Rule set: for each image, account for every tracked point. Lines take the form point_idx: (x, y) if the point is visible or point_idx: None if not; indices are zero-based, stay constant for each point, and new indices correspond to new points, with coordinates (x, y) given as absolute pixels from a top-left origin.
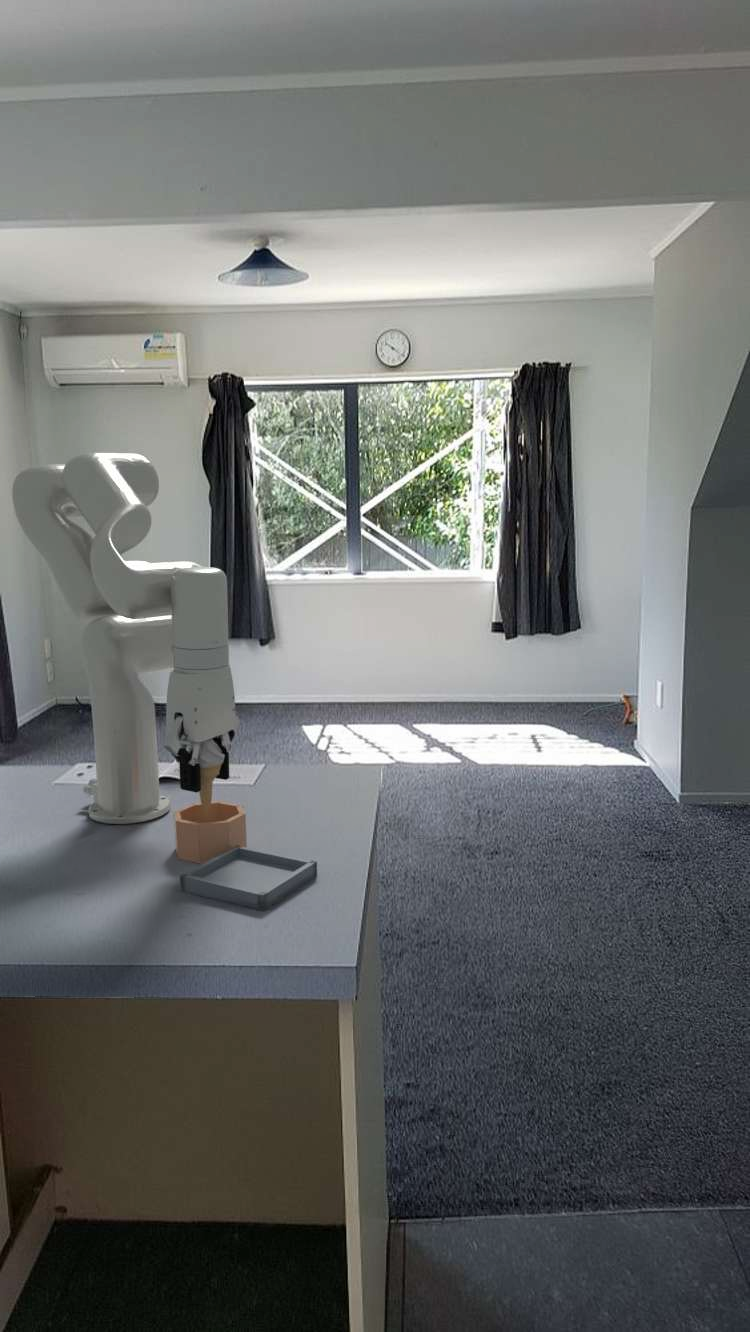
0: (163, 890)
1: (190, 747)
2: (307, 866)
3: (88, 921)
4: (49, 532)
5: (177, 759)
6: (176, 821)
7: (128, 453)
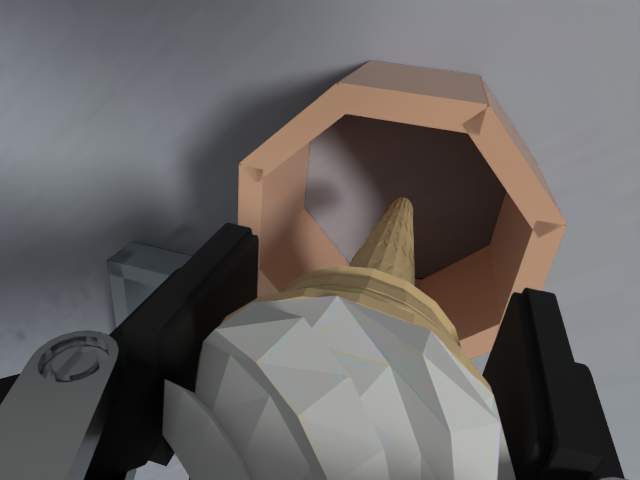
0: (112, 202)
1: (205, 459)
2: None
3: None
4: None
5: (13, 383)
6: (240, 165)
7: None
